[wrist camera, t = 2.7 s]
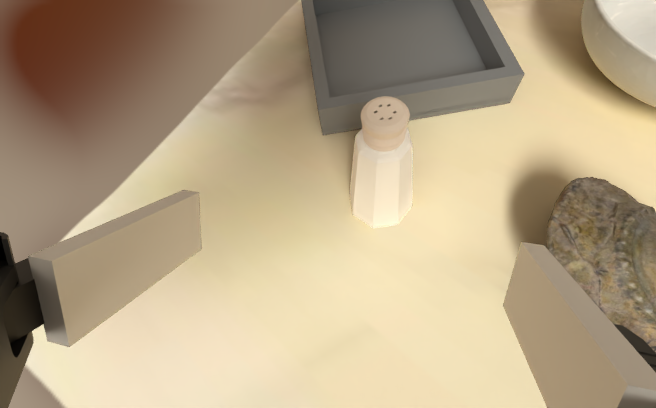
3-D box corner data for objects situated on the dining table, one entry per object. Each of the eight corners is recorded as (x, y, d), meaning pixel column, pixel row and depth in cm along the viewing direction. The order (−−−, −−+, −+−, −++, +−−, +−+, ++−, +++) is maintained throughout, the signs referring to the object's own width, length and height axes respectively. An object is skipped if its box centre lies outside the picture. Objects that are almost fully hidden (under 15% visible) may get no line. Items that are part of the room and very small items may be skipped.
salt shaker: (425, 210, 28) (454, 122, 19) (369, 241, 28) (369, 167, 18) (389, 163, 31) (399, 64, 21) (337, 191, 30) (321, 102, 20)
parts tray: (453, -9, 41) (460, -41, 38) (509, 103, 32) (524, 74, 29) (305, 18, 41) (299, -11, 38) (322, 135, 33) (318, 110, 30)
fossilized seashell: (581, 376, 21) (657, 313, 16) (488, 246, 28) (521, 179, 24) (724, 345, 22) (829, 281, 18) (599, 231, 30) (650, 165, 25)
